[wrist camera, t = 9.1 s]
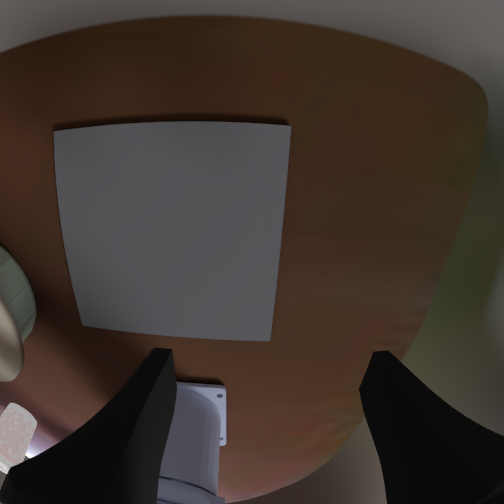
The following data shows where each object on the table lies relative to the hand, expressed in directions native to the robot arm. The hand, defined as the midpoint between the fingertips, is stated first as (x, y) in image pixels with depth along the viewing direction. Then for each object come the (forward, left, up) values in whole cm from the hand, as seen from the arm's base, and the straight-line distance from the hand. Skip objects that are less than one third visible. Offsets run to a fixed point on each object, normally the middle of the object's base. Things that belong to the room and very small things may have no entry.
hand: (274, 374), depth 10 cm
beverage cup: (-24, +29, -10) cm, 39 cm away
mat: (+1, +6, -9) cm, 11 cm away
